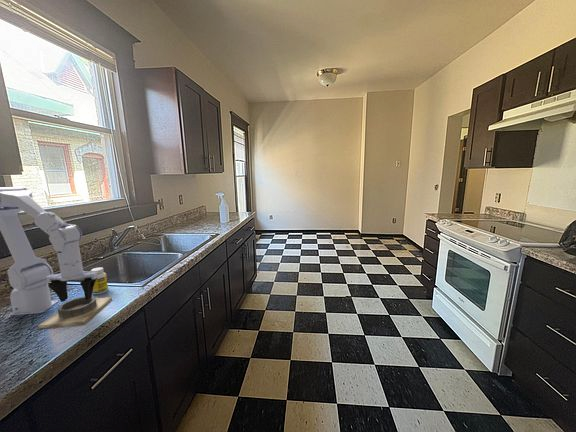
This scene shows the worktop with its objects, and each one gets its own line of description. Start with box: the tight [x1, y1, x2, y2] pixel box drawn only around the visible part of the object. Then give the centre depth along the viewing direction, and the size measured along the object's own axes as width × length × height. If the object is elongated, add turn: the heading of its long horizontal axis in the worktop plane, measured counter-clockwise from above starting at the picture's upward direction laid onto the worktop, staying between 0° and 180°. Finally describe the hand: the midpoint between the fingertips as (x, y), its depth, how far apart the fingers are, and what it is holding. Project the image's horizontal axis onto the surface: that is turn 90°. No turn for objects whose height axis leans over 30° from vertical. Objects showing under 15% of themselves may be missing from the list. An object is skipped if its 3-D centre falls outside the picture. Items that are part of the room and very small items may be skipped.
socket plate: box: [37, 295, 113, 329], centre depth 85 cm, size 13×16×4 cm
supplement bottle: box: [90, 267, 109, 295], centre depth 100 cm, size 5×5×10 cm
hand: (76, 299), depth 85 cm, fingers open, 7 cm apart
